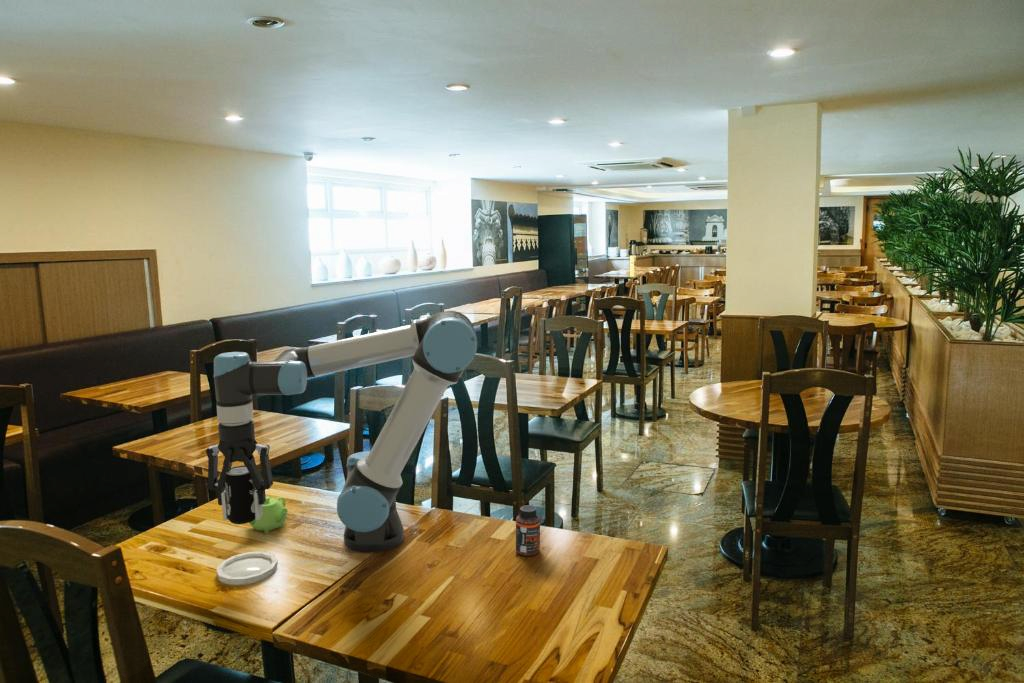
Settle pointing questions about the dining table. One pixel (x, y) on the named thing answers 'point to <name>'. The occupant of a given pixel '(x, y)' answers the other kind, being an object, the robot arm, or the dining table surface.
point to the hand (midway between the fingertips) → (243, 517)
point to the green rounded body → (271, 515)
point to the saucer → (247, 568)
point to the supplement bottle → (527, 531)
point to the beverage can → (240, 495)
